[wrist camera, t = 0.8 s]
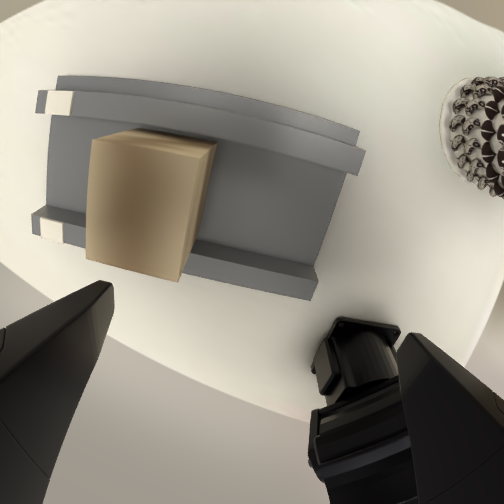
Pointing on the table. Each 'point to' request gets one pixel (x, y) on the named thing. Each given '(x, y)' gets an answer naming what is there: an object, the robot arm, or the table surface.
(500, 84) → the banded tower model
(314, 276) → the chute
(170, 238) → the block
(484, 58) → the table surface
